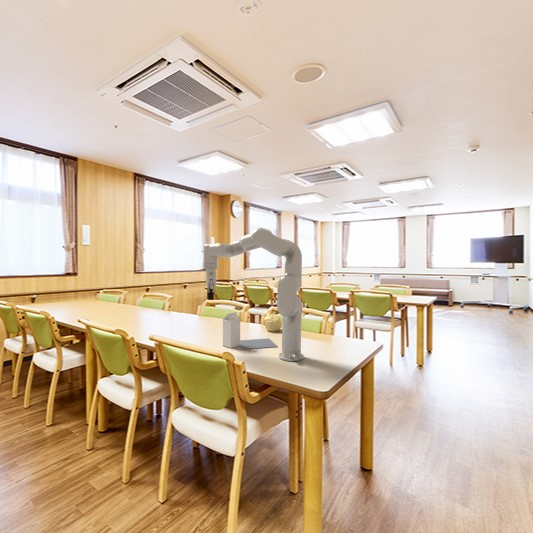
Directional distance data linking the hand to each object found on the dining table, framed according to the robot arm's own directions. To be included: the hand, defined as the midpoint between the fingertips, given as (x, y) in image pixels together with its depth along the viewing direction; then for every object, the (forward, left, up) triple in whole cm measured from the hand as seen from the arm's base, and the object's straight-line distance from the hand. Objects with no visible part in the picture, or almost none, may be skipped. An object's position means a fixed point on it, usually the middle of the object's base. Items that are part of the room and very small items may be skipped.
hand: (210, 298), depth 171 cm
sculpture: (+30, -46, -28) cm, 61 cm away
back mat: (0, -27, -27) cm, 38 cm away
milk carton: (0, -12, -27) cm, 30 cm away
